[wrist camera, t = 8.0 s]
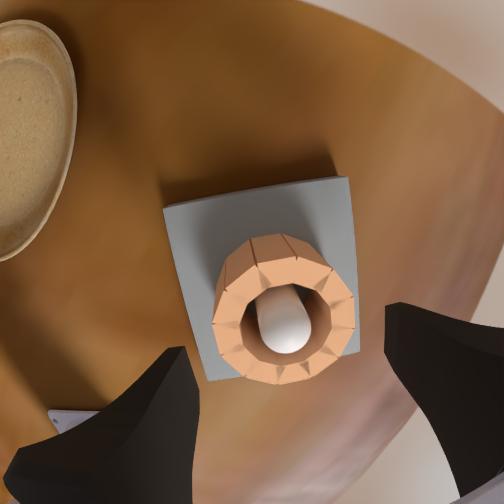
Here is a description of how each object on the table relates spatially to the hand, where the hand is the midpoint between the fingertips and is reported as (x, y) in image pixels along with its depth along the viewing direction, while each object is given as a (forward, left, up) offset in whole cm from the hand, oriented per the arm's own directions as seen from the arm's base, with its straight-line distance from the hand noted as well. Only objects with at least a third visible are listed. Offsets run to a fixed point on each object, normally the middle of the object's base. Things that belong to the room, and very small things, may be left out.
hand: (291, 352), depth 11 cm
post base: (0, 0, -7) cm, 7 cm away
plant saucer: (+12, +15, -8) cm, 21 cm away
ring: (0, 0, -6) cm, 6 cm away
